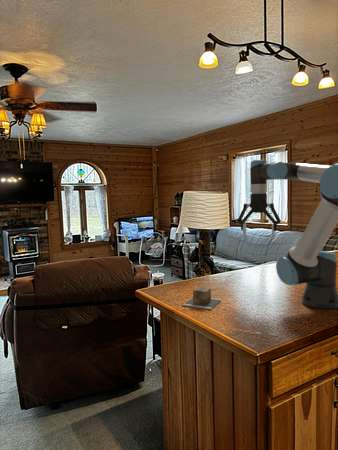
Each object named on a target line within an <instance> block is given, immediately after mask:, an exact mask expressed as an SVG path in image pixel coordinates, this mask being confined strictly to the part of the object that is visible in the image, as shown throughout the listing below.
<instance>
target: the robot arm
mask: <svg viewBox="0 0 338 450" xmlns="http://www.w3.org/2000/svg"><path fill="white" fill-rule="evenodd" d="M249 172H250V174H249V175H250V176H249V177H250V179H249V180H250V181H249V182H250V189H249V191H250V193H251V194H250V200H249V202H250V203H244V204H243V208H242V211H241V213H239V215H238V218H237V220H236V222H237V223H239V224H240V230H241V231H242V238H247V223H246V222H247V220H248V219H250V217H251V216H252V214H254V213H255V214H256V213H260V214H261V213H263V214H265V215H266V217H267V218H268V219H269V221H270V222H271V223H272V224H271V239H275V236H276V235H275V232H277V231H278V224H280V223H281V222H282V219H280V215H279V213H278V212H277V211H276V209H275V204H274V203H273V202H272V203H268V196H267V195H268V194H267V192H268V190H267V189H268V185H267V184H268V181H269V180H271V181H272V180H273V181H274V180H275V181H276V180H293V181H294V180H296V181H304V182H311V183H317V184H320V185H319V190H320V193H319V194H320V195H319V196H320V198H321V200H320V202H319V204H318V205H317V207H316V209H315V211H314V213H313V215H312V217H311V219H310V220H309V222H308V224H307V225H306V228H305V230H304V231H303V233H302V235H301V237H300V238H299V240H298V243H297V244H296V246H293V247H290V249H289V250H288V252H287V254H286V255H285V256H280V257H279V258H278V259H277V260H276V262H275V263H276V264H275V268H276V269H275V270H276V274H277V276H278V278H279V279H280V281H281V282H283V284H285V285H288V286H297V285H301V284H305V287H304V290H303V293H302V296H301V304H303V305H304V306H307V307H310V308H313V309H317V310H318V309H320V310H333V309H334V310H335V309H338V290H337V264H338V262H337V254H336V253H334V252H332V251H327V250H323V248H324V246H325V244H326V243H327V241H328V240H329V237H330V236H331V235H332V233H333V231H334V229H335V228H336V226H337V225H338V163H334V164H332V165H328V164H315V163H304V162H283V161H273V162H268V161H267V160H266V159H254V160H251V162H250V167H249ZM249 207H250V210H249V212H248V213H247V214H246V215H245V213H246V212H247V210H248V209H249ZM267 208H269V209H270V210H271V212H272V214H273V216H274V217H273V216H272V215H271V213H269V211H268V210H267ZM244 215H245V216H244Z"/></svg>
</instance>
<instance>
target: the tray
mask: <svg viewBox="0 0 338 450" xmlns="http://www.w3.org/2000/svg"><path fill="white" fill-rule="evenodd" d="M221 302H222V299H220V298H213V297H211V302H210V303H208V304H207V305H199V304H193V297H192V298H190V299H189V300H187V301H186V302H185V303H182V307H186V308H187V307H188V308H193V309H199V310H205V311H212V310H213V309H214V308H215V307H216V306H218V305H219V304H220V303H221Z"/></svg>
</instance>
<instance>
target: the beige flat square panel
mask: <svg viewBox="0 0 338 450" xmlns="http://www.w3.org/2000/svg"><path fill="white" fill-rule="evenodd" d="M220 308H221V306H217V307H216V308H215V309H216V310H219V309H220ZM221 310H223V311H229V309H227V308H221Z"/></svg>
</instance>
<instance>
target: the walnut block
mask: <svg viewBox="0 0 338 450" xmlns="http://www.w3.org/2000/svg"><path fill="white" fill-rule="evenodd" d="M192 298H193V304H199V305H207V304H208V303H210V302H211V298H212V288H211V287H204V286H197V287H195V288H193V289H192Z"/></svg>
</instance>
